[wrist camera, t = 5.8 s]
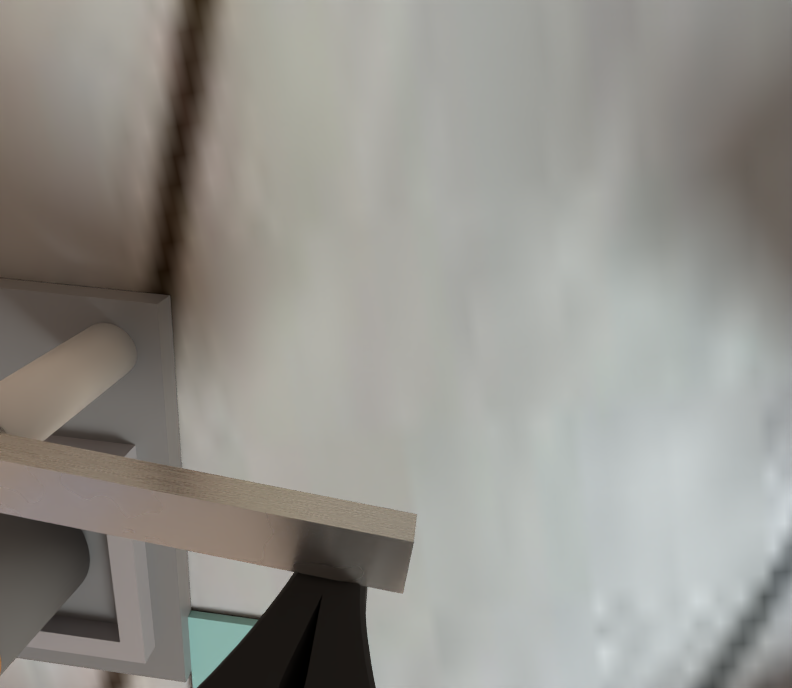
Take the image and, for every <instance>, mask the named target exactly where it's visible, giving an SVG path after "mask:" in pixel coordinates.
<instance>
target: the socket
mask: <svg viewBox="0 0 792 688" xmlns="http://www.w3.org/2000/svg"><path fill="white" fill-rule="evenodd" d="M0 426H1V427H2V428H3V429H4V430H5V431H6V433H7V434H10V435H15V436H20V437H25V438H30V439H35V440H40V441H45V442H51V443H56V444H61V445H66V446H71V447H76V448H81V449H86V450H91V451H96V452H102V453H107V454H112V455H117V456H122V457H127V458H132V459H137V460H142V461H148V462H153V463H158V464H163V465H168V466H173V467H178V468H182V463H181V448H180V433H179V418H178V403H177V388H176V373H175V358H174V343H173V328H172V313H171V298H170V295H162V294H152V293H142V292H133V291H123V290H113V289H103V288H93V287H83V286H73V285H63V284H54V283H44V282H34V281H24V280H14V279H4V278H0ZM81 530H82V532H83V534H84V536H85V539H86V541H87V544H88V548H89V554H90V565H89V570H88V574H87V576H86V578H85V580H84V581H83V583H82V584H81V585H80V586H79V587H78V588H77V590H76V591H75V592H74V593H73V594H72V595H71V596H70V597H69V599H68V600H67V601H66V602H65V603H64V604H63V605H62V607H61V608H60V609H59V610H58V611H57V612H56V613H55V614H54V616H53V617H52V618H51V619H50V620H49V621H48V622H47V623H46V625H45V626H44V627H43V628H42V629H41V630H40V631H39V632H38V634H37V635H36V636H35V637H34V638H33V639H32V640H31V641H30V643H29V644H28V645H27V646H26V647H25V648H24V649H23V651H22V652H21V653H20V654H19V655H18V656H17V657H16V658H22V659H29V660H36V661H43V662H49V663H56V664H63V665H70V666H77V667H84V668H91V669H98V670H105V671H111V672H118V673H125V674H132V675H139V676H146V677H153V678H160V679H167V680H174V681H180V682H186V681H187V679H188V677H189V674H190V672H191V670H192V669H191V655H190V641H189V627H188V616H189V614H190V612H191V597H190V582H189V567H188V552H187V550H183V549H178V548H173V547H168V546H163V545H158V544H153V543H148V542H143V541H138V540H133V539H128V538H123V537H118V536H113V535H108V534H103V533H98V532H93V531H88V530H83V529H81Z"/></svg>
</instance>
